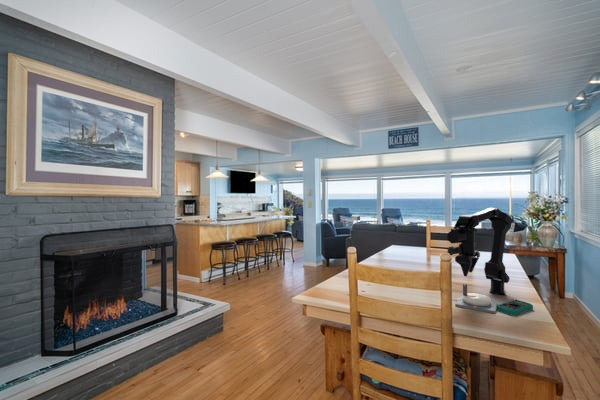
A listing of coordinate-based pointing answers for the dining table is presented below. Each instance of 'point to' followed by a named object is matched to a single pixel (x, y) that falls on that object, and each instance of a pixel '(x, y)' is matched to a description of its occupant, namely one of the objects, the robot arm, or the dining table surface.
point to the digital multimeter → (514, 307)
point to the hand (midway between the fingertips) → (468, 274)
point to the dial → (475, 298)
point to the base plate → (489, 308)
